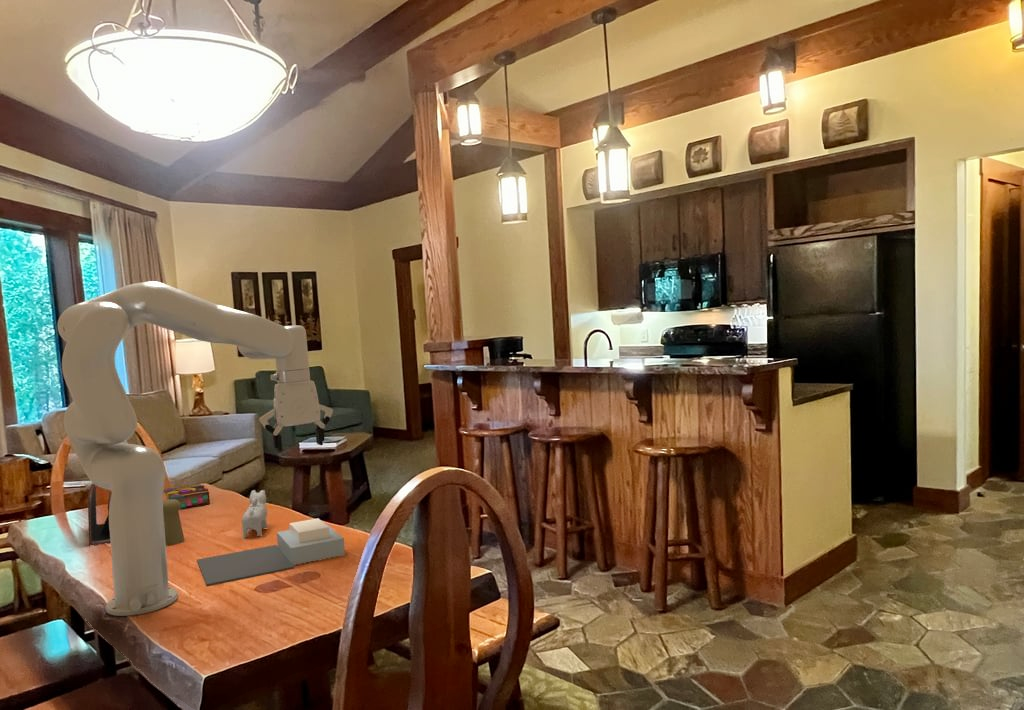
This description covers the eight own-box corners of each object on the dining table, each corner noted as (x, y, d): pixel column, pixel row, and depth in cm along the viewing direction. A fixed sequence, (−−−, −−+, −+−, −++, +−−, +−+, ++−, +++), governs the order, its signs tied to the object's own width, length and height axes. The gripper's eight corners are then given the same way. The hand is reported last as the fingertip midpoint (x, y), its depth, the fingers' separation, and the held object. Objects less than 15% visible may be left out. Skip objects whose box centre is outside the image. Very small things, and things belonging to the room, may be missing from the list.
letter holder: (89, 547, 183) (85, 493, 182) (94, 529, 200) (90, 480, 200) (132, 540, 187) (129, 487, 187) (134, 523, 205) (130, 475, 205)
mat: (294, 568, 157) (294, 566, 157) (206, 586, 148) (206, 584, 148) (276, 546, 174) (276, 544, 174) (197, 561, 166) (196, 559, 166)
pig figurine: (271, 524, 195) (269, 486, 195) (262, 537, 183) (259, 497, 182) (251, 526, 195) (249, 488, 194) (241, 539, 182) (238, 498, 182)
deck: (344, 555, 165) (343, 538, 165) (292, 565, 159) (291, 548, 159) (326, 539, 179) (325, 523, 178) (277, 548, 173) (276, 532, 173)
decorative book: (202, 497, 236) (201, 482, 236) (211, 506, 223) (210, 490, 223) (164, 503, 230) (163, 488, 230) (172, 512, 216) (171, 496, 216)
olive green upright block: (156, 546, 179) (153, 504, 179) (161, 540, 185) (158, 498, 185) (182, 543, 181) (179, 501, 180) (186, 537, 187) (183, 496, 186)
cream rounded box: (329, 537, 166) (329, 527, 166) (299, 542, 162) (298, 532, 162) (318, 527, 175) (318, 518, 175) (290, 533, 171) (289, 523, 171)
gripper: (259, 382, 161) (266, 455, 162) (333, 374, 170) (339, 444, 171) (252, 380, 168) (259, 451, 169) (324, 372, 177) (330, 440, 178)
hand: (299, 447), depth 170 cm, fingers open, 9 cm apart
